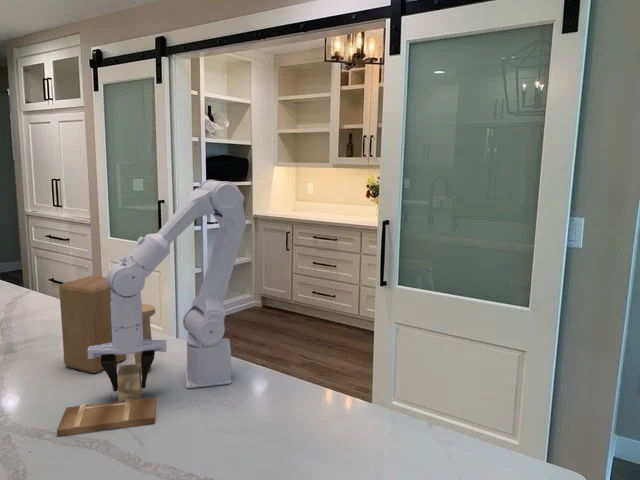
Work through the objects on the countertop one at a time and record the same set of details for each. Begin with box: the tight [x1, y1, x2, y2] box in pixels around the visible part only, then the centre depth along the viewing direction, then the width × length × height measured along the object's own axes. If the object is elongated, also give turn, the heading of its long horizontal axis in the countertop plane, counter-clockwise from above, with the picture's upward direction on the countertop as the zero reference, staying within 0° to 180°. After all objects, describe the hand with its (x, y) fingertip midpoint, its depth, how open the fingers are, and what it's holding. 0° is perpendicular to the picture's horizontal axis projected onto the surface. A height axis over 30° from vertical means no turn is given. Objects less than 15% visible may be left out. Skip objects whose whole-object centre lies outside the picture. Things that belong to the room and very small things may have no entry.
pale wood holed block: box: [117, 363, 143, 401], centre depth 94 cm, size 4×8×6 cm, turn 17°
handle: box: [133, 303, 156, 373], centre depth 107 cm, size 5×6×15 cm
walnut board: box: [56, 396, 157, 437], centre depth 88 cm, size 16×8×1 cm, turn 107°
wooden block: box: [58, 275, 127, 374], centre depth 110 cm, size 10×10×20 cm
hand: (130, 387), depth 96 cm, fingers open, 5 cm apart
